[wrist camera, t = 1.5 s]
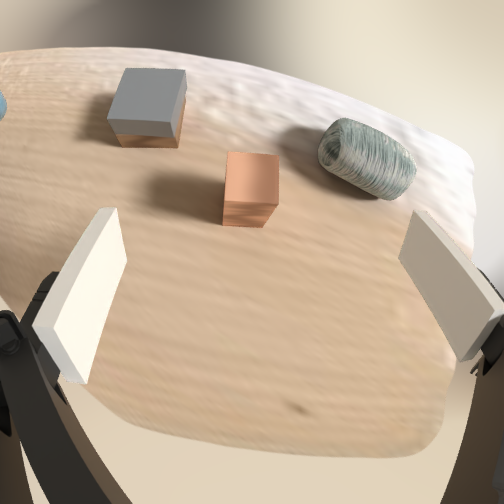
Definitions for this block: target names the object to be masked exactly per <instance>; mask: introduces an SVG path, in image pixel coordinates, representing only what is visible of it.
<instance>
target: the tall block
mask: <svg viewBox="0 0 504 504" xmlns="http://www.w3.org/2000/svg"><path fill="white" fill-rule="evenodd" d="M278 204H279V155H268V154H256V153H242V152H228V155H227V166H226V177H225V189H224V205H223V223H222V226H238V227H256V228H262V227H263V226H264V224H265V223H266V221H267V220H268V219H269V217H270V216H271V214H272V213H273V211H274V210H275V208H276V207H277V206H278Z"/></svg>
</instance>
